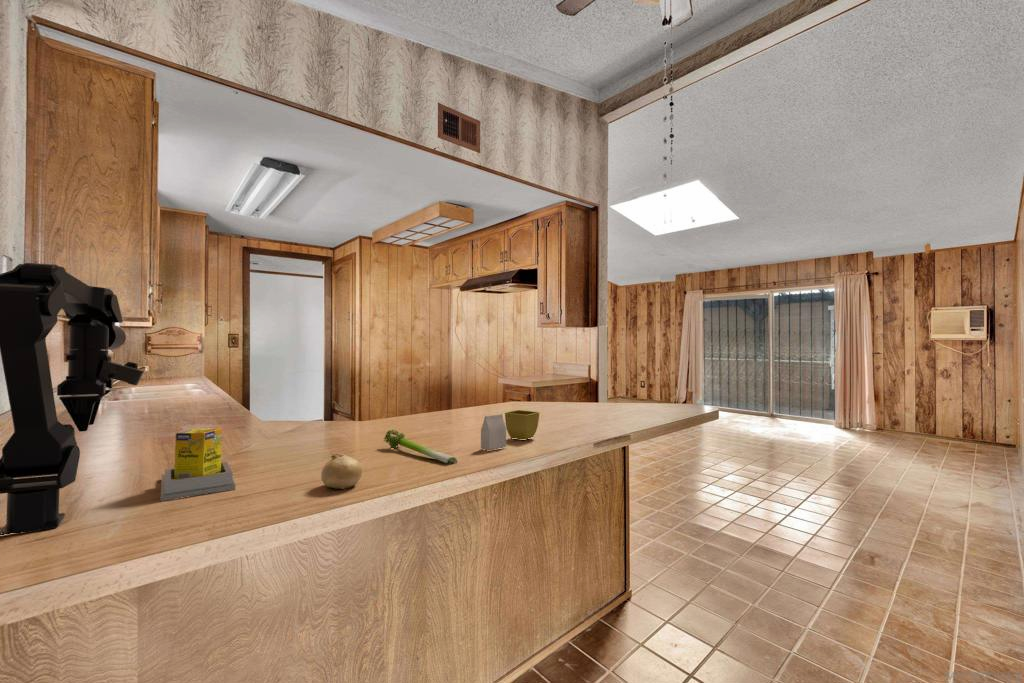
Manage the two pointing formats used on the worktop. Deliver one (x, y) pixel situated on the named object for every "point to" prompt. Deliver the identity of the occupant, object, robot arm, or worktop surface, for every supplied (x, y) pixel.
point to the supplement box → (198, 452)
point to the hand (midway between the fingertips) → (86, 427)
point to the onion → (341, 472)
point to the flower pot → (521, 423)
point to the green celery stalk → (416, 447)
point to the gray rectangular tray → (196, 483)
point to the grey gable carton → (493, 432)
